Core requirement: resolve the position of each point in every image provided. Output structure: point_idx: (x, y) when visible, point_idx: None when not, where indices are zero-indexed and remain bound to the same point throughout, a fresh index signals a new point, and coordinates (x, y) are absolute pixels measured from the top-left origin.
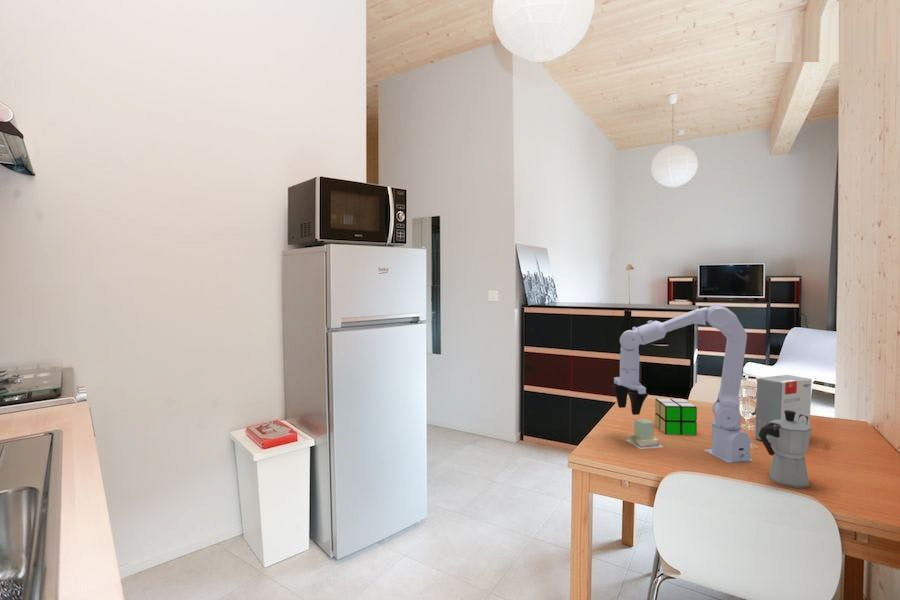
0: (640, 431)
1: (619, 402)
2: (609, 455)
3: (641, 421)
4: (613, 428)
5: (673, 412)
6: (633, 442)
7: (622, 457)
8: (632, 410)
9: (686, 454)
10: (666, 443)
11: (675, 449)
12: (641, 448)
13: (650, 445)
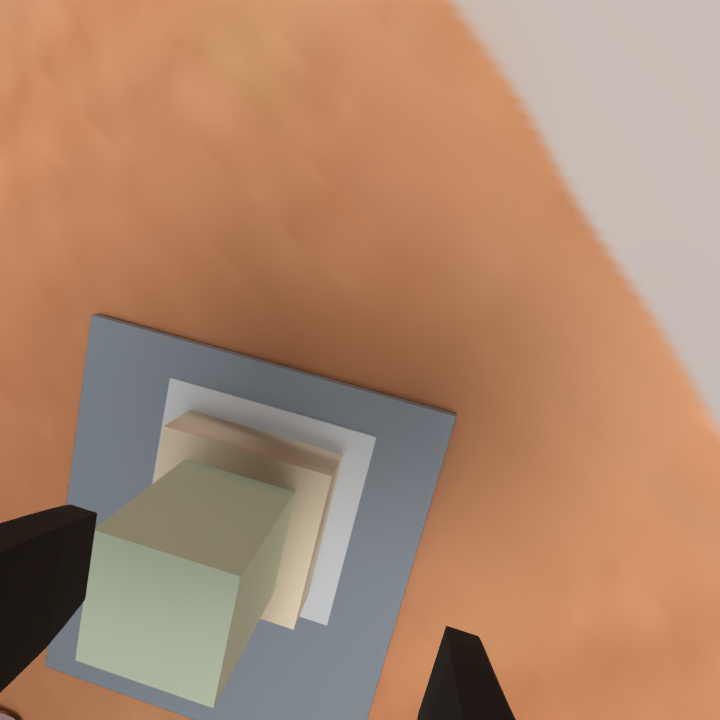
0: (175, 494)
1: (449, 696)
2: (187, 61)
3: (159, 590)
4: (686, 605)
5: None
6: (289, 439)
7: (119, 136)
8: (21, 522)
9: None
10: None
11: None
12: (172, 395)
13: None
